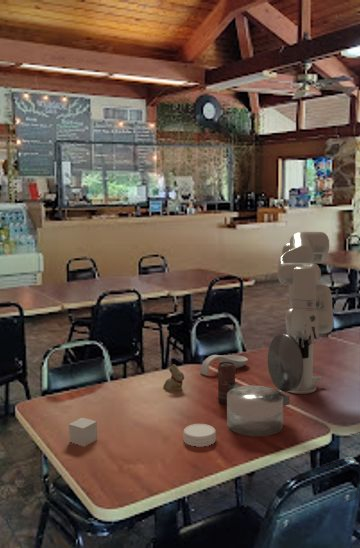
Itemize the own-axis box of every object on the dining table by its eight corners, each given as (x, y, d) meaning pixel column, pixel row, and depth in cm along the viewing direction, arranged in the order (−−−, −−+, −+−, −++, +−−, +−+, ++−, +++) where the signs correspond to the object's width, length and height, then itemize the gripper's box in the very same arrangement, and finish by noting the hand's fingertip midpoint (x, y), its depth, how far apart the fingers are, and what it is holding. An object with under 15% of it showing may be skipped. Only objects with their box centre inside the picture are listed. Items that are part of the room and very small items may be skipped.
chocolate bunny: (174, 393, 212) (174, 367, 211) (161, 388, 218) (161, 363, 217) (185, 389, 216) (185, 364, 215) (172, 384, 222) (172, 360, 220)
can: (234, 404, 200) (234, 366, 198) (217, 403, 201) (216, 366, 199) (236, 398, 206) (236, 361, 204) (219, 397, 207) (219, 360, 205)
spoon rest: (234, 360, 252) (234, 345, 251) (253, 366, 243) (253, 350, 242) (194, 372, 237) (194, 356, 236) (213, 379, 228) (213, 362, 227)
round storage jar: (259, 401, 202) (259, 375, 201) (299, 429, 179) (300, 399, 177) (208, 410, 195) (208, 383, 193) (243, 440, 171) (243, 409, 170)
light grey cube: (84, 447, 169) (83, 428, 168) (69, 442, 172) (68, 424, 172) (97, 439, 174) (96, 421, 173) (83, 435, 177) (82, 417, 177)
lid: (265, 381, 194) (274, 380, 195) (296, 399, 176) (305, 398, 178) (270, 328, 191) (279, 328, 193) (301, 342, 174) (310, 341, 176)
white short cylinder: (205, 450, 166) (205, 439, 165) (177, 443, 171) (177, 432, 171) (221, 437, 174) (221, 427, 174) (194, 431, 179) (193, 420, 179)
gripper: (327, 306, 179) (326, 362, 181) (300, 298, 192) (299, 350, 195) (307, 309, 176) (306, 365, 179) (281, 300, 189) (281, 353, 192)
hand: (303, 357), depth 187 cm, fingers closed
